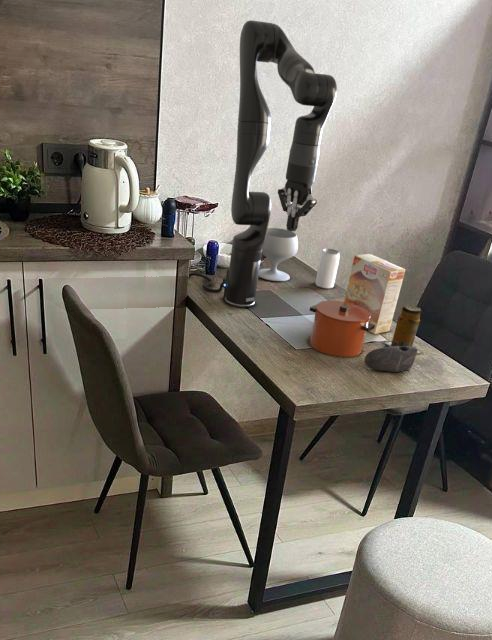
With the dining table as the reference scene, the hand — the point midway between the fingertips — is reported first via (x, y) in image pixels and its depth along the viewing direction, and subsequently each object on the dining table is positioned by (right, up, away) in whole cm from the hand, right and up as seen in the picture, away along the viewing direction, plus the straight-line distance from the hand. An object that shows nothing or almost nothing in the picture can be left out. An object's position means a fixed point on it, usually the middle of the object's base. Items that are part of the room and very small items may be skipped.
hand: (291, 230), depth 195 cm
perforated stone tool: (+27, -38, +2) cm, 46 cm away
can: (+17, 0, +57) cm, 59 cm away
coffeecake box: (+26, -19, +30) cm, 44 cm away
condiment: (+34, -29, +17) cm, 48 cm away
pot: (+14, -29, +12) cm, 34 cm away
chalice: (0, +4, +59) cm, 59 cm away
